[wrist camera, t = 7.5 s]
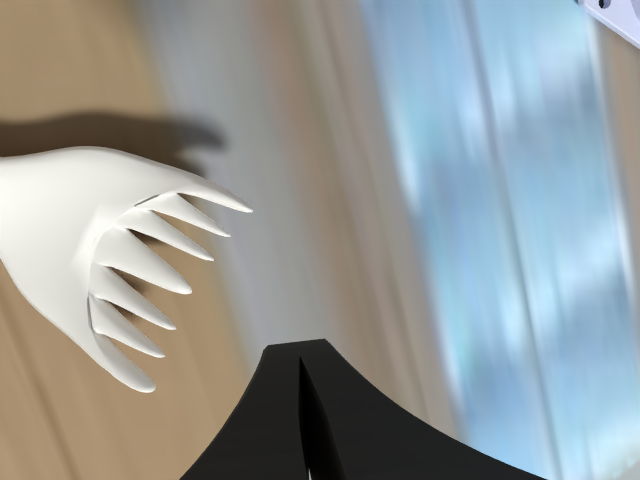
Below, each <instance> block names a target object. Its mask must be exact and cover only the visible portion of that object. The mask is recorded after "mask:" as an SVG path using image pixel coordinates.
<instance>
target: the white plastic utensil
mask: <svg viewBox="0 0 640 480" xmlns="http://www.w3.org/2000/svg"><path fill="white" fill-rule="evenodd" d="M178 193H184V194H189V195H193V196H197V197H200V198H203V199H206V200H209V201H212V202H215V203H218V204H221V205H224V206H227V207H229V208H232V209H235V210H239V211H243V212H253V208H252V207H251V206H250V205H249V204H248V203H247V202H246V201H244V200H243V199H242V198H241V197H239V196H237V195H236V194H234V193H233V192H231V191H229V190H227V189H226V188H224V187H222V186H220V185H218V184H216V183H214V182H211V181H209V180H207V179H204V178H202V177H200V176H198V175H196V174H193V173H190V172H187V171H184V170H181V169H178V168H176V167H172V166H169V165H166V164H163V163H159V162H156V161H153V160H150V159H147V158H144V157H141V156H137V155H134V154H131V153H127V152H124V151H120V150H116V149H111V148H106V147H97V146H77V147H67V148H62V149H56V150H51V151H46V152H40V153H35V154H28V155H22V156H12V157H0V258H1V260H2V262H3V264H4V266H5V268H6V269H7V271H8V273H9V275H10V277H11V278H12V280H13V282H14V283H15V285H16V287H17V288H18V289H19V291H20V292H21V294H22V295H23V296H24V297H25V298H26V300H27V301H28V302H29V303H30V304H31V305H32V306H33V307H34V308H35V309H36V310H37V311H38V312H39V313H41V314H42V315H43V316H44V317H45V318H47V319H48V320H49V321H50V322H51V323H53V324H54V325H55V326H56V327H58V328H59V329H60V330H61V331H62V332H64V333H65V334H66V335H67V336H68V337H70V338H71V339H72V340H73V341H74V342H75V343H76V344H78V345H79V346H80V347H81V348H82V349H83V350H84V351H85V352H86V353H87V354H88V355H89V356H90V357H92V358H93V359H94V360H95V361H96V362H97V363H98V364H99V365H100V366H102V367H103V368H104V369H106V370H107V371H108V372H110V373H111V374H112V375H113V376H114V377H115V378H116V379H118V380H119V381H121V382H123V383H124V384H126V385H127V386H129V387H130V388H132V389H135V390H138V391H140V392H146V393H148V392H152V391H154V390H155V389H156V385H155V383H154V382H153V380H152V379H151V378H150V377H149V376H148V375H147V374H146V373H145V372H144V371H143V370H142V369H141V368H140V367H138V366H137V365H136V364H135V363H134V362H133V361H131V360H130V359H129V358H128V357H127V356H126V355H125V354H124V353H123V352H122V351H121V350H119V349H118V348H117V347H116V346H115V344H114V343H113V342H112V341H111V339H110V338H109V337H111V338H114V339H116V340H118V341H120V342H122V343H124V344H126V345H129V346H131V347H133V348H135V349H137V350H140V351H142V352H144V353H147V354H149V355H152V356H155V357H158V358H159V357H165V356H164V353H163V352H162V350H161V349H160V348H159V347H158V346H157V345H156V344H155V343H154V342H153V341H152V340H151V339H149V338H148V337H147V336H146V335H145V334H144V333H142V332H141V331H140V330H139V329H138V328H137V327H135V326H134V325H133V324H132V323H131V322H130V321H128V320H127V319H126V318H125V317H124V316H123V315H122V314H121V313H120V312H119V311H118V310H117V309H116V308H115V307H114V306H113V305H112V304H111V303H110V302H112V303H114V304H116V305H118V306H120V307H123V308H125V309H126V310H128V311H130V312H132V313H134V314H136V315H138V316H140V317H142V318H144V319H146V320H148V321H150V322H152V323H154V324H157V325H159V326H161V327H164V328H166V329H172V330H173V329H176V328H175V326H174V324H173V323H172V321H171V320H170V319H169V318H168V317H167V316H165V315H164V314H163V313H162V312H161V311H160V310H159V309H158V308H156V307H155V306H154V305H153V304H151V303H150V302H149V301H148V300H147V299H145V298H144V297H143V296H142V295H141V294H139V293H138V292H137V291H136V290H135V289H133V288H132V287H131V286H130V285H129V284H128V283H126V282H125V281H124V280H123V279H122V278H121V277H120V276H119V275H118V274H116V273H115V272H114V271H113V270H112V268H111V267H114V268H116V269H119V270H121V271H124V272H126V273H129V274H132V275H134V276H136V277H139V278H141V279H143V280H146V281H148V282H150V283H153V284H155V285H157V286H160V287H162V288H165V289H167V290H170V291H173V292H177V293H181V294H189V293H192V291H191V287H190V285H189V284H188V283H187V282H186V281H185V279H184V278H183V277H182V276H181V275H180V274H179V273H178V272H177V271H176V270H175V269H174V268H172V267H171V266H170V265H169V264H168V263H167V262H166V261H165V260H163V259H162V258H161V257H160V256H159V255H157V254H156V253H155V252H154V251H152V250H151V249H150V248H149V247H148V246H147V245H145V244H144V243H143V242H142V241H141V240H139V239H138V238H137V237H136V236H135V235H134V234H132V233H131V232H130V230H129V229H133V230H136V231H138V232H141V233H144V234H146V235H149V236H152V237H154V238H156V239H159V240H161V241H163V242H165V243H168V244H170V245H172V246H174V247H176V248H179V249H181V250H183V251H185V252H187V253H190V254H192V255H194V256H197V257H199V258H202V259H204V260H212V261H214V259H213V258H212V256H211V255H210V254H209V253H208V252H207V251H205V250H204V249H203V248H202V247H201V246H199V245H198V244H197V243H195V242H194V241H192V240H191V239H190V238H188V237H187V236H186V235H184V234H183V233H181V232H180V231H179V230H177V229H176V228H174V227H173V226H172V225H170V224H169V223H167V222H166V221H165V220H163V219H162V218H161V217H159V216H158V215H157V214H155V213H154V212H153V211H152V210H155V211H158V212H161V213H164V214H167V215H170V216H173V217H176V218H178V219H181V220H183V221H186V222H188V223H191V224H193V225H196V226H198V227H200V228H203V229H205V230H208V231H210V232H213V233H215V234H218V235H221V236H226V237H231V236H230V234H229V233H228V232H227V231H226V230H225V229H224V228H223V227H221V226H220V225H219V224H217V223H216V222H215V221H213V220H212V219H211V218H209V217H208V216H207V215H205V214H204V213H202V212H201V211H200V210H198V209H197V208H195V207H194V206H193V205H191V204H190V203H189V202H187V201H186V200H185V199H183V198H182V197H181V196H179V195H178ZM128 228H129V229H128ZM108 301H110V302H108Z"/></svg>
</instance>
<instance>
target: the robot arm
mask: <svg viewBox="0 0 640 480" xmlns="http://www.w3.org/2000/svg"><path fill="white" fill-rule="evenodd" d="M578 3H579V6H580V7H581V8H582V9H583V10H585V11H586V12H587V13H589V14H590V15H592V16H593V17H595V18H596V19H597V20H599V21H600V22H602V23H603V24H604V25H606V26H607V27H609V28H610V29H612V30H613V31H614V32H616V33H617V34H619V35H620V36H622V37H623V38H624V39H626V40H627V41H629V42H630V43H631V44H633V45H634V46H636V47H637V48H639V49H640V0H604V5H603V8H600V6H599V0H578ZM309 470H310V475H311V479H312V480H547V479H544V478H542V477H539V476H536V475H534V474H531V473H529V472H526V471H523V470H521V469H518V468H516V467H513V466H511V465H508V464H506V463H504V462H501V461H499V460H497V459H494V458H492V457H490V456H488V455H485V454H483V453H481V452H479V451H477V450H475V449H473V448H471V447H469V446H467V445H465V444H463V443H461V442H459V441H457V440H455V439H453V438H451V437H449V436H447V435H446V434H444V433H442V432H440V431H438V430H437V429H435V428H433V427H432V426H430V425H428V424H427V423H425V422H424V421H422V420H420V419H419V418H417V417H415V416H414V415H412V414H411V413H409V412H408V411H406V410H405V409H403V408H402V407H400V406H399V405H397V404H396V403H395V402H393V401H392V400H391V399H390V398H388V397H387V396H386V395H384V394H383V393H382V392H381V391H379V390H378V389H377V388H376V387H375V386H373V385H372V384H371V383H370V382H369V381H368V380H367V379H366V378H364V377H363V376H362V375H361V374H360V373H359V372H358V371H357V370H356V369H355V368H353V367H352V366H351V365H350V364H349V363H348V362H347V361H346V360H345V359H344V358H343V357H342V356H341V355H340V354H339V352H338V351H337V350H336V349H335V348H334V347H333V346H332V345H331V344H330V343H329V342H328V341H327V340H326V339H317V340H309V341H300V342H292V343H283V344H274V345H268V346H267V347H266V348H265V349H264V350H263V353H262V357H261V359H260V362H259V364H258V367H257V369H256V371H255V373H254V375H253V377H252V379H251V381H250V383H249V385H248V387H247V388H246V390H245V392H244V394H243V396H242V398H241V399H240V401H239V403H238V404H237V406H236V407H235V409H234V410H233V412H232V413H231V415H230V416H229V418H228V419H227V421H226V422H225V424H224V426H223V427H222V428H221V430H220V431H219V433H218V434H217V435H216V437H215V438H214V439H213V441H212V442H211V443H210V445H209V446H208V447H207V448H206V450H205V451H204V452H203V453H202V454H201V456H200V457H199V458H198V459H197V461H196V462H195V463H194V464H193V465H192V466H191V467H190V469H189V470H188V471H187V472H186V473H185V474H184V475H183V476H182V477H181V478H180V479H179V480H309Z"/></svg>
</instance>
